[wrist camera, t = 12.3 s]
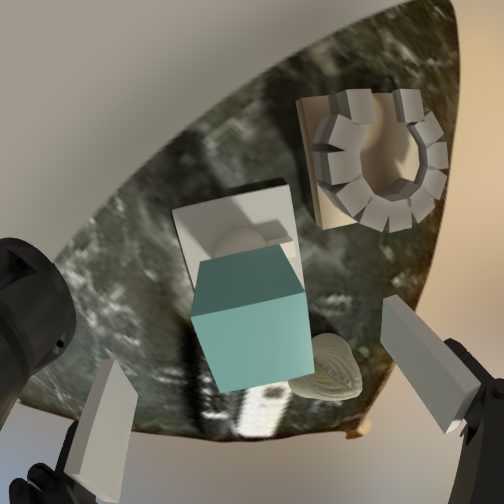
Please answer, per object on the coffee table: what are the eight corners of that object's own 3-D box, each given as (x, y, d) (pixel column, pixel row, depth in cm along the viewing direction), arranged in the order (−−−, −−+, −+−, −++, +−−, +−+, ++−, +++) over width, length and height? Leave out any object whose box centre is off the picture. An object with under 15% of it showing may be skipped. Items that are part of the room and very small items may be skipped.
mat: (202, 308, 28) (201, 311, 28) (172, 209, 24) (171, 211, 24) (303, 286, 28) (304, 289, 28) (287, 184, 25) (288, 185, 24)
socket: (315, 223, 26) (338, 244, 21) (295, 101, 22) (315, 90, 17) (414, 203, 26) (449, 218, 21) (402, 95, 22) (438, 90, 17)
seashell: (323, 322, 27) (387, 361, 25) (315, 324, 36) (367, 355, 34) (276, 390, 26) (342, 428, 24) (279, 377, 34) (331, 408, 32)
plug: (220, 285, 27) (220, 392, 15) (205, 232, 25) (190, 317, 13) (295, 268, 27) (345, 363, 15) (286, 214, 25) (343, 282, 13)
